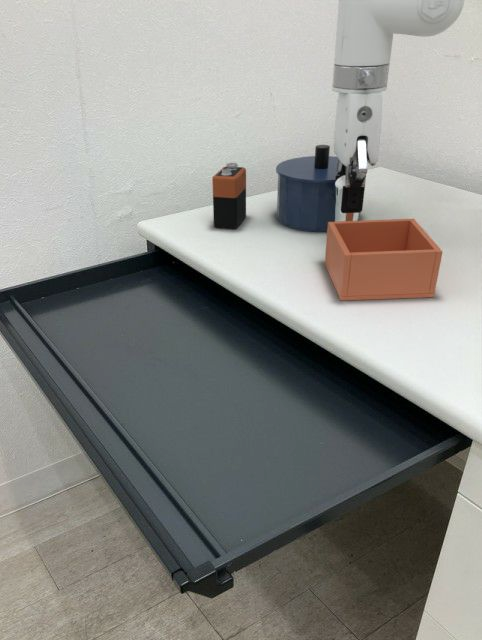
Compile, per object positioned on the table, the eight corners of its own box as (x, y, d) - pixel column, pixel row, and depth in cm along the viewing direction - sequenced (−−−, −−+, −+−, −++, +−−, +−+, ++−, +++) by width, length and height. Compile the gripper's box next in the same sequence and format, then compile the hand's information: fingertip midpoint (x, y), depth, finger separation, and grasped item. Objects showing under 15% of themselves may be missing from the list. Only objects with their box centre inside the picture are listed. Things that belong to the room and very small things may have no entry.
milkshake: (328, 239, 94) (333, 176, 89) (332, 227, 99) (338, 165, 93) (357, 241, 93) (365, 178, 87) (360, 229, 97) (368, 167, 92)
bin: (407, 260, 91) (414, 218, 87) (433, 297, 80) (443, 251, 77) (324, 263, 91) (327, 221, 87) (340, 300, 81) (345, 255, 77)
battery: (246, 217, 110) (246, 161, 104) (236, 230, 104) (236, 172, 99) (224, 215, 111) (223, 160, 105) (212, 228, 106) (211, 171, 100)
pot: (349, 203, 114) (354, 157, 109) (367, 230, 102) (373, 180, 97) (273, 206, 114) (274, 161, 110) (282, 233, 102) (283, 184, 98)
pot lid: (355, 160, 110) (358, 134, 108) (376, 184, 97) (380, 155, 95) (271, 163, 110) (272, 138, 108) (281, 188, 98) (282, 159, 95)
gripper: (404, 86, 76) (385, 224, 86) (372, 69, 90) (359, 189, 100) (345, 88, 76) (333, 226, 86) (322, 71, 90) (314, 191, 101)
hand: (347, 205), depth 93 cm, fingers closed on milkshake, 4 cm apart
